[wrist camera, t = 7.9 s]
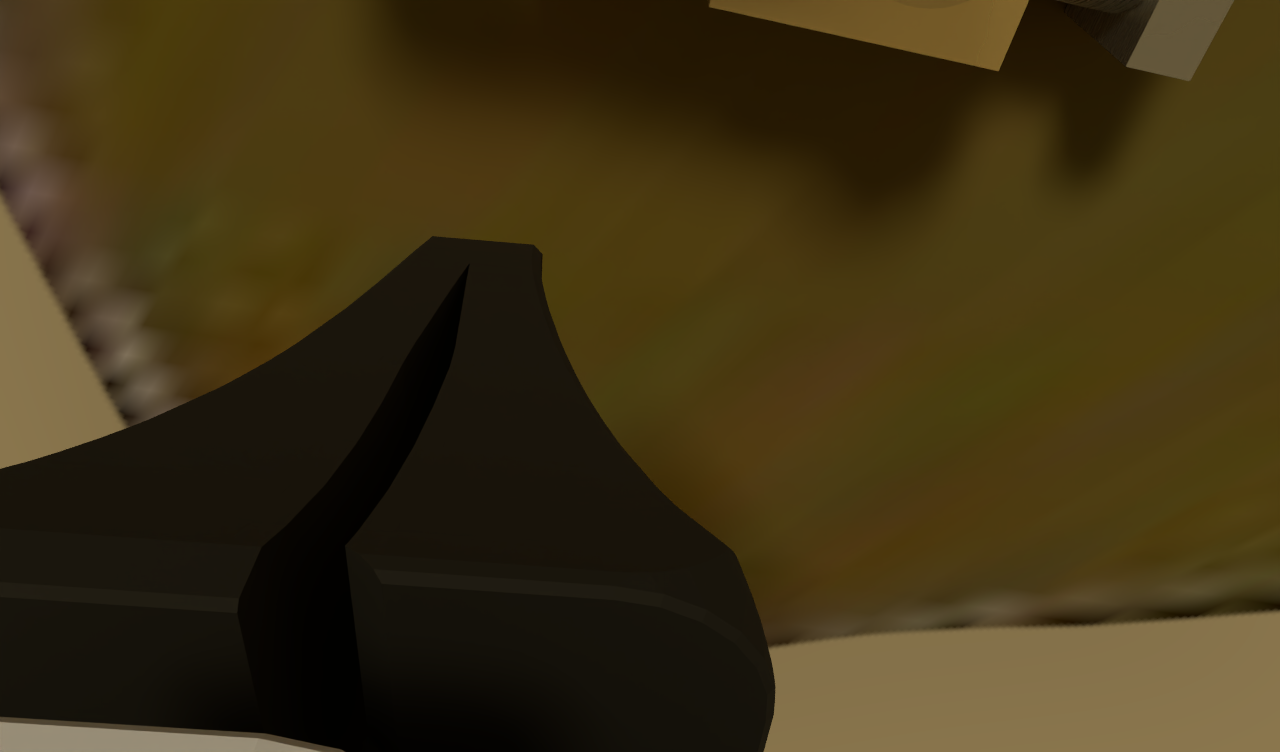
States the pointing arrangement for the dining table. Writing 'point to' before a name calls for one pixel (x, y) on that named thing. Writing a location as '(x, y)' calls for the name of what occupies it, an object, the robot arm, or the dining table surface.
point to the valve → (1009, 27)
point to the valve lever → (931, 3)
